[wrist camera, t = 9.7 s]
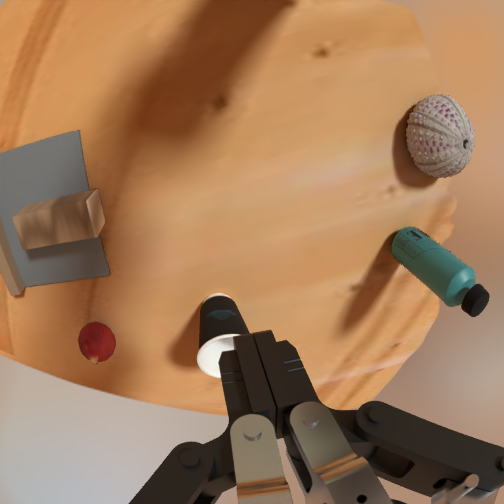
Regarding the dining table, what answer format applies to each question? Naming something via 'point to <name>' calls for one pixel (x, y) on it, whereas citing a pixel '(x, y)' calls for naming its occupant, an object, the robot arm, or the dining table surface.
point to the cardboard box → (60, 220)
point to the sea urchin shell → (440, 136)
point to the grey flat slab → (35, 190)
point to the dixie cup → (217, 331)
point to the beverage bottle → (439, 270)
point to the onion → (96, 342)
